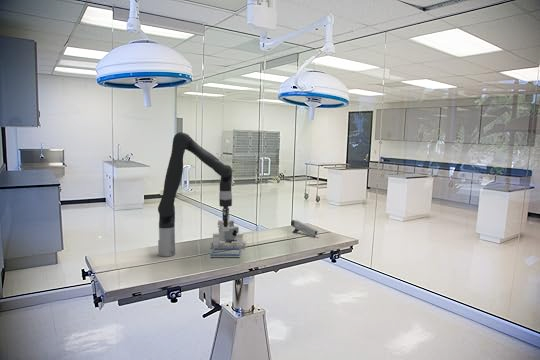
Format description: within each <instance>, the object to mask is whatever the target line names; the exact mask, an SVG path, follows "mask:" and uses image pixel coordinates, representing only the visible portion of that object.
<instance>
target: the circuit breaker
mask: <svg viewBox="0 0 540 360" xmlns="http://www.w3.org/2000/svg"><path fill="white" fill-rule="evenodd" d="M217 228H218V233H220V236H219V242H220V241H222V242H223V241H225V243H228V242H230V241H231V242H232V241H234V240H235V239H237V233H240V232H239V226H236V225H235V221H234V220H232V219H229V231H223V219H222V220H217Z"/></svg>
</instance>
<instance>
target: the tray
mask: <svg viewBox="0 0 540 360" xmlns="http://www.w3.org/2000/svg"><path fill="white" fill-rule="evenodd" d="M241 250H242V249H241V248H213V249H211V252H210V259H240V256H241ZM215 251H238V252H237V253H214V252H215Z"/></svg>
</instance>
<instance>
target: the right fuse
mask: <svg viewBox="0 0 540 360" xmlns="http://www.w3.org/2000/svg"><path fill="white" fill-rule="evenodd" d="M243 237H244V235H243V232H239V233H237V238H236V245H237V248H243V241H244V239H243Z"/></svg>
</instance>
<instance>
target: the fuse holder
mask: <svg viewBox="0 0 540 360" xmlns="http://www.w3.org/2000/svg"><path fill="white" fill-rule="evenodd" d="M219 244H220V247H219V248H237V240H236V241H234V240H232V241H231V244H230V245H228V244H227V245H226V242H225V241H220V240H219ZM245 249H246V241H244V240H243V248H241V250H245ZM209 250H213V240H212V241H210V248H209Z"/></svg>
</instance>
